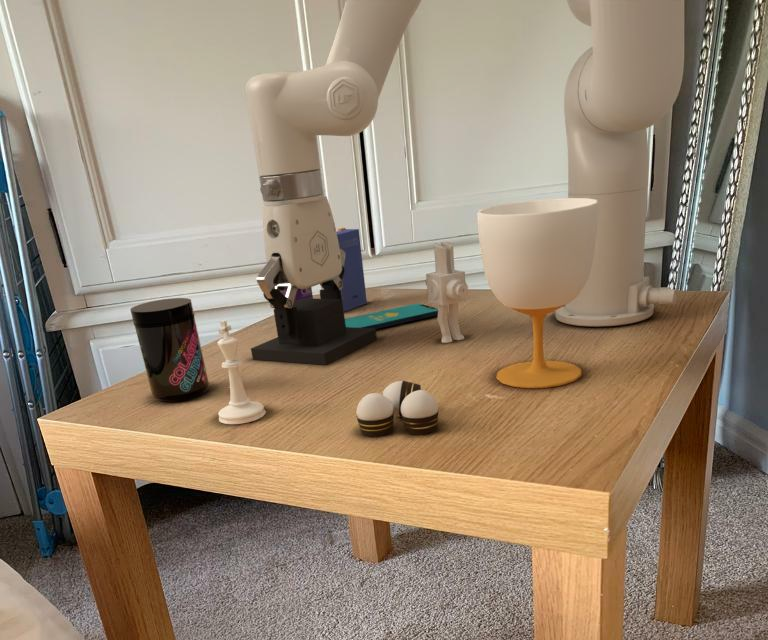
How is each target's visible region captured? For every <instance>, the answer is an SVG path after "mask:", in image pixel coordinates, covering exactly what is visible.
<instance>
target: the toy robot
mask: <svg viewBox="0 0 768 640" xmlns="http://www.w3.org/2000/svg"><path fill="white" fill-rule="evenodd" d="M433 253H434V264H435V265H434V267H435V271H433V272H428V273H426V274H425V281H424V282H425V285H426V292H427V293H426V294H427V302H428V303H430V304H434V305H438V307H437V309H438V315H437V323H438V325H439V327H440V328H439V329H440V332H441V343H443V344H445V343H446V344H448V343H452V342H453V341H461V340H464V339H465V336H464V335H463V334H462V333H461V328H460V325H459V303H461V302H466V301H467V295H468V293H469V285H468V283H467V282H466V271H462V270H458V269H457V270H456V269H455V255H454V244H453V243H452V242H449V241H440V244H439V243H438V242H434V244H433Z"/></svg>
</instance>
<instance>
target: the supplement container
mask: <svg viewBox="0 0 768 640" xmlns="http://www.w3.org/2000/svg"><path fill="white" fill-rule="evenodd" d="M130 314H131V317H132V321H133V322H132V323H133V326H134V329H135V333H136V337H137V341H138V344H139V348H140V353H141V356H142V360H143V364H144V369H145V372H146V376H147V380H148V384H149V388H150V393H151V396H153V398H154V399H156V400H157V401H159V402H162V403H163V402H164V403H176V402H183V401H188V400H192V399H195V398H198V397H200V396H202V395H203V394H206V392H207V391H208V389H209V386H210V382H209V377H208V373H207V368H206V364H205V359H204V355H203V349H202V345H201V339H200V336H199V331H198V326H197V322H196V317H195V316H196V315H195V311H194V307H193V302H192V299H191V298H188V297H187V298H186V297H173V298H171V297H170V298H165V299H164V298H163V299H155V300H151V301H147V302H143V303H140V304H137V305H134V306H132V307H130Z"/></svg>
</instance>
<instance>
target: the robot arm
mask: <svg viewBox="0 0 768 640" xmlns="http://www.w3.org/2000/svg"><path fill="white" fill-rule="evenodd" d="M566 1H567V4H568V8H569V10H570V12H571V14H572V15H573V17H574V18H575V19H576V20H578V21H579V22H580V23H581V24H583V25H585V26H589V27H591V28H590V29H591V41H592V42H591V45H592V46H590V47H589V48H588V49H587V50H586V51H584V52H583V54H581V55H580V56H579V57H578V59H577V60H576V61H575V63H574V65H573V66H572V68H571V70H570V72H569V74H568V77H567V79H566V83H565V86H564V87H565V88H564V93H563V94H564V95H563V113H564V125H565V132H566V133H565V134H566V141H567V142H566V144H567V171H568V173H567V188H568V189H567V198H589V199H595V200H597V201H598V203H599V208H598V223H597V235H596V242H595V249H594V256H593V263H592V266H591V270H590V273H589V277H588V280H587V282H586V283H585V285H584V287H583V288H582V290H581V292H580V293H579V295H578V296H577V297H576V298H575V299H574V300H573V301H571V302H570V303H568V304H566V305H564V306H562V307H561V308H559V309H557V310H556V311H554V315H555V316H554V318H555V319H556V321H559V322H560V323H561V324H562V323H563V324H567V325H571V326H578V327H592V328H593V327H595V328H596V327H597V328H598V327H614V326H615V327H616V326H625V325H629V324H635V323H638V322H643V321H644V320H647V319H649V318H650V317H652V316H653V314H654V308H655V306H654V305H659V306H675V304H676V301H677V296H678V295H677V289H676V288H675V289H674V288H672V287H670V286H669V287H668V286H667V287H665V286H664V287H662V286H661V287H653V285H650V276H644V263H645V246H646V245H645V241H646V227H647V226H646V225H647V224H646V222H647V204H648V203H647V202H648V188H649V171H650V170H649V169H650V168H649V167H650V166H649V165H650V164H649V163H650V159H649V158H650V157H649V156H650V154H649V142H648V132H647V129H648V128H651V127H652V126H654V125H656V124H657V123H658V122H660V121H661V120H662V119H664V117H665V116H666V115H667V114H668V113H669V112H670V110H671V109H672V107H673V106H674V104H675V102H676V100H677V98H678V96H679V93H680V90H681V88H682V87H681V86H682V82H683V75H684V68H685V0H566ZM421 2H422V0H345V3H344V7H343V10H342V14H341V17H340V20H339V24H338V26H337V30H336V33H335V36H334V38H333V42H332V44H331V48H330V50H329V53H328V57H327V59H326V62H325V64H324V65H321V66H318V67H315V68H311V69H306V70H302V71H301V70H300V71H295V70H294V71H293V70H285V71H283V70H282V71H275V72H265V73H260V74H257V75H254V76H252V77H250V78H249V79H248V80H247V81H246V84H245V100H246V106H247V112H248V118H249V124H250V130H251V136H252V141H253V148H254V153H255V159H256V165H257V173H258V178H259V184H260V190H259V191H260V193H261V197H262V202H263V206H262V229H263V231H262V232H263V243H264V252H265V260H266V264H265V265H264V267H263V268H262V269H261V271H260V272H259V273H258V275H257V276H256V283H257V285H258V287H259V288H260V290H261V292H262V293H263V297H264V299H265V300H266V301H267V302H268V303H269V306H270V308H271V309H273V310H274V309H275V315H276V321H277V327H278V333H279V337H280V338H281V339H293V340H298V339H300V338H301V330H300V324H299V317H298V311H297V307H292V306H293V303H294V300H295V296H296V293H297V289H298V288H299V289H307V288H310V287H311V288H313V287H315V286H318V285H319V286H320V287H321V286H322V288H323V289H324V290H321V289H319V297H320V298H319V299H342V294H341V290H339V289H342V287H343V282H342V278H343V275H344V267H343V266H344V263H345V255H346V254H345V251H343V250H342V249H340V248H339V243H338V238H337V233H336V232H337V228H336V223H335V220H334V215H333V211H332V209H331V205H330V203H329V199H328V196H325V190H324V182H323V175H322V169H321V167H322V166H321V159H320V153H319V145H318V138H317V136H332V137H333V136H335V137H352V136H355V135H358V134H360V133H362V132H363V131H364V130H366V129H367V128H368V127H369V126H370V125H371V123H372V122H373V121H374V118H375V117H376V114H377V111H378V108H379V107H378V106H379V99H380V95H381V93H382V90H383V88H384V85H385V82H386V79H387V77H388V74H389V71H390V69H391V66H392V63H393V61H394V58H395V56H396V53H397V51H398V48H399V46H400V44H401V41H402V38H403V36H404V34H405V32H406V29H407V27H408V26H409V24H410V22H411V20H412V18H413V16H414V14H415V13H416V11H417V10H418V8H419V6H420V4H421ZM283 291H287V292H286V296H284V295H283V294H282V293H283ZM343 311H344V310H343Z"/></svg>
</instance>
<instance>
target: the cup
mask: <svg viewBox="0 0 768 640" xmlns="http://www.w3.org/2000/svg"><path fill="white" fill-rule="evenodd" d="M598 208H599V203H598V201H597V200H595V199H589V198H568V197H563V198H561V197H560V198H545V199H534V200H524V201H517V202H508V203H503V204H497V205H492V206H489V207H484V208H482V209H479V210H478V212H477V214H476V219H477V231H478V242H479V249H480V255H481V261H482V268H483V272H484V275H485V278H486V281H487V285H488V287H489V289H490V290H491V292H492V293H493V295H494V297H496V299H497V301H499V302H500V303H501V304H502V305H504V306H505V307H507V308H509V309H512V310H513V311H516V312H518V313H520V314H524V315H527V316H529V317H530V318H531V320H532V335H533V353H532V360H530V361H522V362H518V363H517V362H516V363H514V364H511V365H507V366H504V367H503V368H502V369H500V370H499V371H497V373H496V377H495V378H496V379H497V381H499V382H500V383H501V384H502V385H505V386H509V387H512V388H520V389H549V388H554V387H560V386H561V387H562V386H565V385H567V384H571V383H573V382H575V381H577V380H578V379H579V378H580V377H582V368H580V367H579V366H577V365H576V364H574V363H570V362H566V361H561V360H560V361H559V360H547V359H546V360H545V355H544V354H545V353H544V322H545V317H546V316H547V315H548V314H551V313H553V312H555V311H556V310H557V309H559V308H561V307H562V306H564V305H566V304H568V303H570V302H571V301H573V300H574V299H575V298H576V297H577V296H578V295H579V293H580V292H581V290H582V288H583V287H584V285H585V283H586V282H587V280H588V277H589V273H590V270H591V266H592V263H593V256H594V249H595V242H596V235H597V223H598Z"/></svg>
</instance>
